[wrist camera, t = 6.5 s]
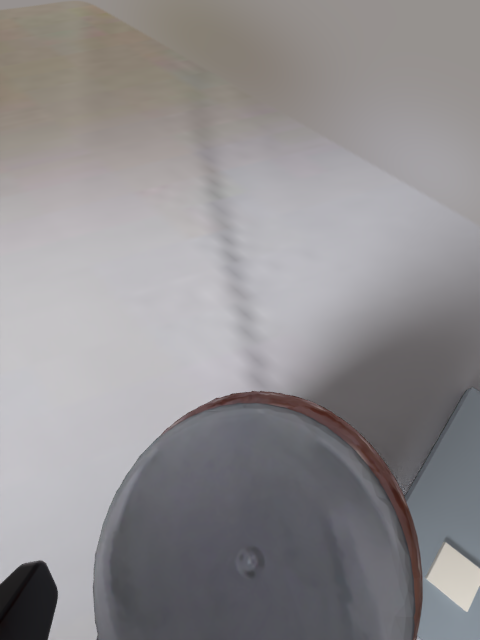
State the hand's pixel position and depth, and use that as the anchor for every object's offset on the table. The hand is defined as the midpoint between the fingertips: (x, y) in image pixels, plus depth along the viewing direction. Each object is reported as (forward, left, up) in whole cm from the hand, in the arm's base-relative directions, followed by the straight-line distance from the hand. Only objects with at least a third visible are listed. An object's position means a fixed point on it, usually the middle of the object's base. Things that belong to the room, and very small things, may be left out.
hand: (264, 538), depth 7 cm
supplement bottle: (0, 0, -8) cm, 8 cm away
